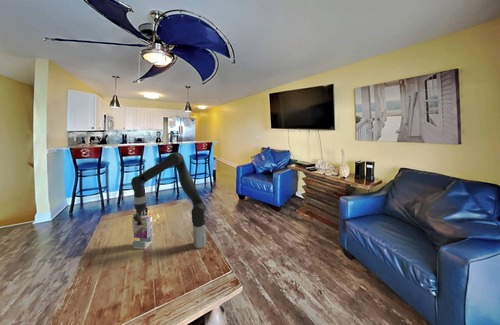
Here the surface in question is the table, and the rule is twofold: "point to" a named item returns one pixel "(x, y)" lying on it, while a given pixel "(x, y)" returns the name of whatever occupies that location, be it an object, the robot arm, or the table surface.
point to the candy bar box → (142, 228)
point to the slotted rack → (142, 243)
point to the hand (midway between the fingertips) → (141, 223)
